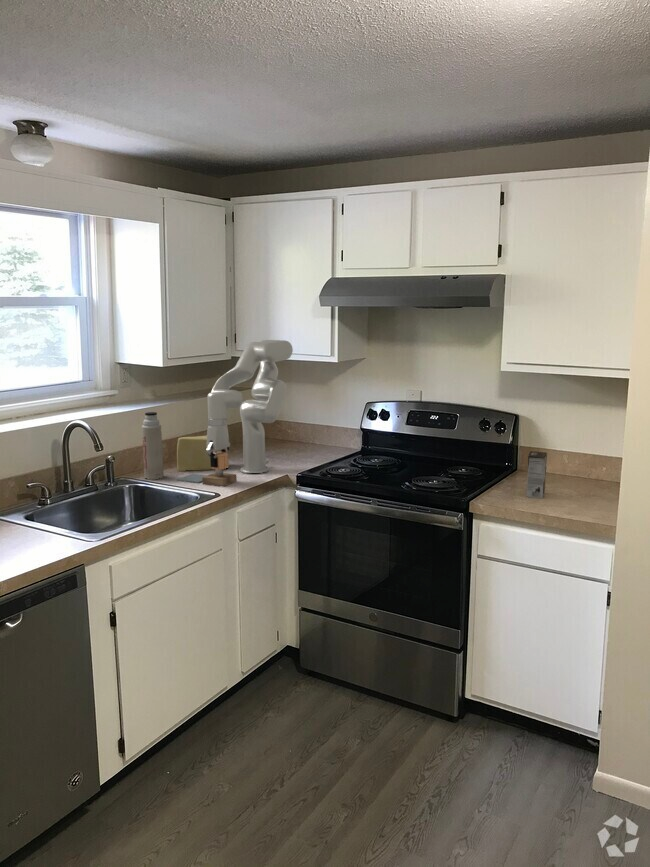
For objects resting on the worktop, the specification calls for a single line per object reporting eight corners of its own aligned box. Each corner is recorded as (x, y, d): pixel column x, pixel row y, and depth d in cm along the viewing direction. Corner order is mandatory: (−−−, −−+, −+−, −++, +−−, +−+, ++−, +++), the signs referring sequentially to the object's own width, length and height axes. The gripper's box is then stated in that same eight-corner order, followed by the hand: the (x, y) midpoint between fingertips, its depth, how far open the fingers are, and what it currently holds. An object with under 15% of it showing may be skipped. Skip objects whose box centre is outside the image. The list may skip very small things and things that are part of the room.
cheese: (179, 473, 314) (177, 439, 312) (176, 468, 323) (174, 436, 321) (229, 469, 322) (228, 436, 319) (224, 464, 331) (223, 432, 328)
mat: (192, 474, 312) (192, 473, 311) (213, 477, 307) (213, 476, 307) (176, 480, 302) (176, 479, 302) (198, 483, 297) (198, 481, 297)
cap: (230, 466, 298) (230, 452, 297) (222, 469, 292) (221, 455, 291) (217, 465, 301) (217, 451, 300) (209, 468, 295) (208, 454, 294)
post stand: (216, 478, 304) (215, 455, 303) (236, 481, 300) (235, 457, 298) (202, 484, 296) (201, 460, 294) (222, 486, 291) (222, 462, 289)
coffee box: (528, 491, 282) (530, 450, 279) (545, 492, 279) (547, 452, 277) (525, 497, 273) (527, 455, 271) (543, 498, 271) (545, 456, 268)
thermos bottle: (145, 480, 303) (142, 414, 298) (143, 476, 310) (139, 411, 305) (164, 478, 306) (161, 413, 300) (162, 474, 313) (159, 410, 308)
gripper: (222, 418, 302) (223, 460, 306) (197, 425, 287) (199, 468, 291) (237, 419, 299) (238, 461, 302) (213, 426, 284) (214, 470, 287)
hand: (219, 464), depth 296 cm, fingers closed on cap, 6 cm apart
